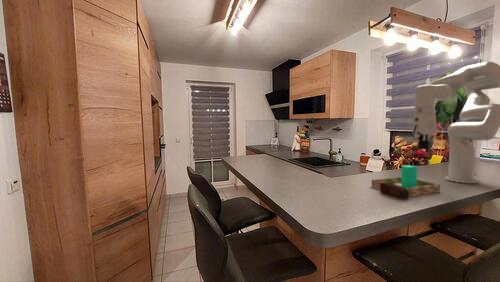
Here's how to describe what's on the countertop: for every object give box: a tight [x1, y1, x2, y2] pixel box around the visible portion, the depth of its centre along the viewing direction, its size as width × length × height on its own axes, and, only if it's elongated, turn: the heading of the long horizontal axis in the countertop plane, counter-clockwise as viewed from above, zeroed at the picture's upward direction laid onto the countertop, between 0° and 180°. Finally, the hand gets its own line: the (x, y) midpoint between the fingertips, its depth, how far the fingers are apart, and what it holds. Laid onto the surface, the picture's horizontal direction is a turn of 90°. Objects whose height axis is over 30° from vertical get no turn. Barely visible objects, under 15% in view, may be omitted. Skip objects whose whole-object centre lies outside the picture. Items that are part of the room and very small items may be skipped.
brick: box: [379, 182, 410, 200], centre depth 92 cm, size 11×4×5 cm, turn 15°
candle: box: [400, 162, 418, 188], centre depth 101 cm, size 6×6×12 cm
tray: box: [371, 176, 441, 197], centre depth 101 cm, size 21×17×3 cm
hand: (423, 148), depth 103 cm, fingers closed
